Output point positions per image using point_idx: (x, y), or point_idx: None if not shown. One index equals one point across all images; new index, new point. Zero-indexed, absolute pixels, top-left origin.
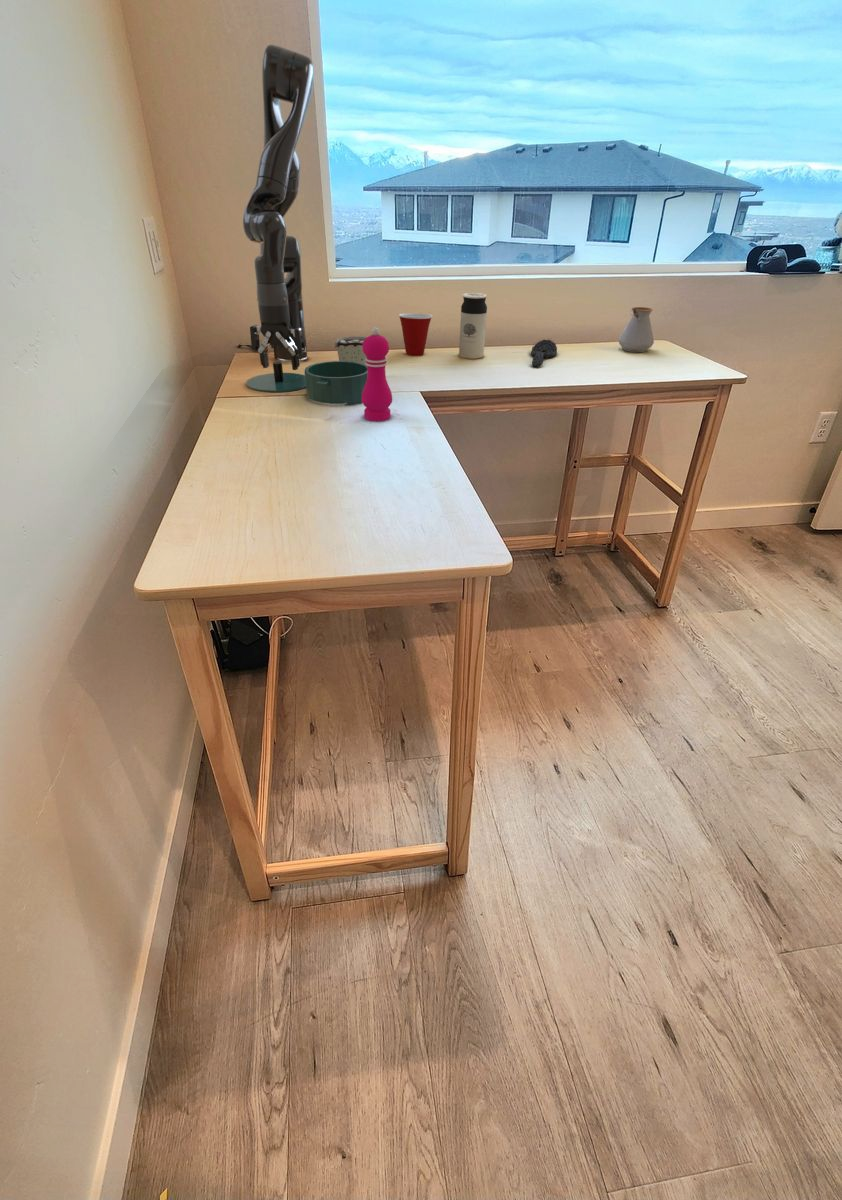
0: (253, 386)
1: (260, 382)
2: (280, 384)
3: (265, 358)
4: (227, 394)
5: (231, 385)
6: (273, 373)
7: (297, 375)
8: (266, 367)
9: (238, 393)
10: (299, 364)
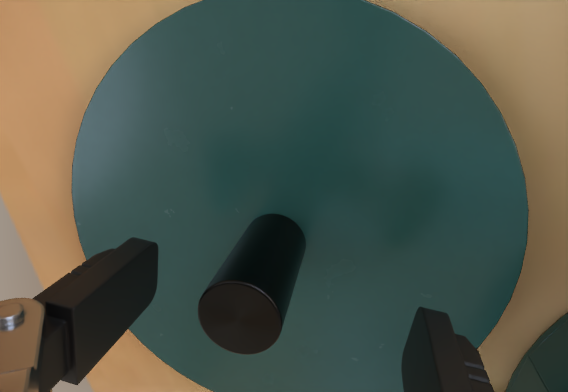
0: (165, 346)
1: (169, 273)
2: (304, 310)
3: (110, 324)
4: (88, 380)
5: (25, 246)
6: (162, 35)
7: (376, 65)
8: (155, 281)
9: (125, 368)
10: (478, 356)
